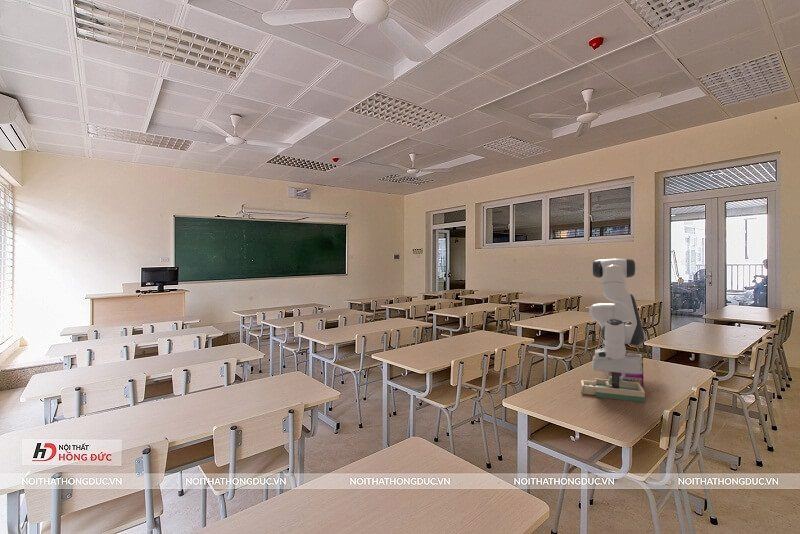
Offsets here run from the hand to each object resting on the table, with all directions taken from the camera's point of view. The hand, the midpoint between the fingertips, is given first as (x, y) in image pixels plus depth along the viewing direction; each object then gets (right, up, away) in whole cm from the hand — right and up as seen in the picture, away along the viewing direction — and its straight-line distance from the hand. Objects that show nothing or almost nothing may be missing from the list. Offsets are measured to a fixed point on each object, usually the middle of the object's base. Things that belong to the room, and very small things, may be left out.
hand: (615, 380), depth 179 cm
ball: (-10, -5, +4) cm, 12 cm away
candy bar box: (+15, -6, +12) cm, 21 cm away
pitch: (-2, -7, +1) cm, 7 cm away
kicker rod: (-1, -4, +1) cm, 4 cm away
